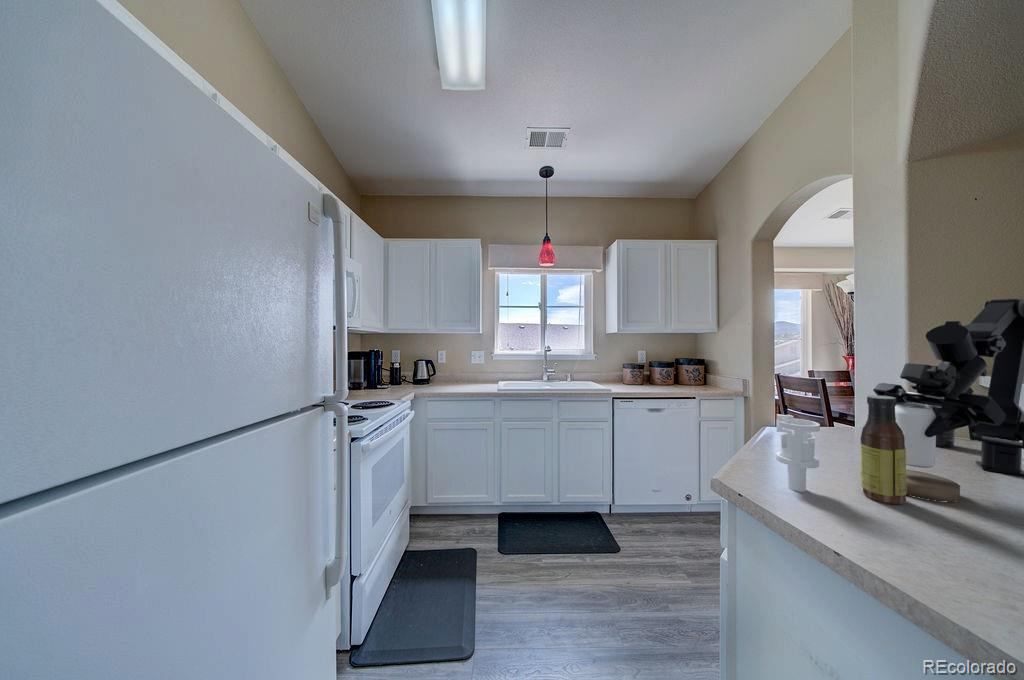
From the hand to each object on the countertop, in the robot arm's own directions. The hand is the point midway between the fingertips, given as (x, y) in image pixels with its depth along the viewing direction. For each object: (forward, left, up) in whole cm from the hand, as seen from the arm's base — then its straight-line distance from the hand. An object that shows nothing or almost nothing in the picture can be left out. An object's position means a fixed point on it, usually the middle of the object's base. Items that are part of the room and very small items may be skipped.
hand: (907, 431), depth 77 cm
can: (-1, +1, -7) cm, 7 cm away
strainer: (+15, -17, -12) cm, 26 cm away
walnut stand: (0, +2, -12) cm, 12 cm away
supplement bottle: (-49, +12, -12) cm, 52 cm away
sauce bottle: (+10, -4, -12) cm, 16 cm away
